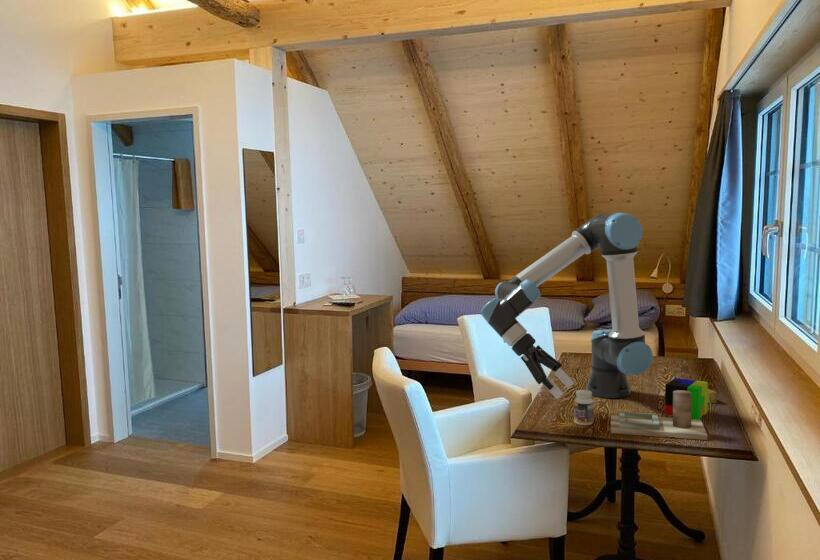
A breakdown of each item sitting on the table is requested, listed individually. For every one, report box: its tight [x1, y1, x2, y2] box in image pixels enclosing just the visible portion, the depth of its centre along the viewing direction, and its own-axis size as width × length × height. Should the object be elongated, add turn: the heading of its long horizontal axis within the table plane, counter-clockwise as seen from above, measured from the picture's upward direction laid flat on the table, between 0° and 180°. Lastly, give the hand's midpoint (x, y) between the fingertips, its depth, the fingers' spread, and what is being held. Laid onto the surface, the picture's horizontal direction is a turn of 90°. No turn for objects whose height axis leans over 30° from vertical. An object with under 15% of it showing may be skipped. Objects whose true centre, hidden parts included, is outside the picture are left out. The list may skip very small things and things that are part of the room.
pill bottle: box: [573, 389, 594, 426], centre depth 198 cm, size 6×6×10 cm
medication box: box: [707, 388, 717, 404], centre depth 222 cm, size 12×3×4 cm, turn 12°
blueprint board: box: [610, 390, 708, 441], centre depth 191 cm, size 14×26×12 cm, turn 72°
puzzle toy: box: [664, 377, 709, 420], centre depth 205 cm, size 10×10×10 cm
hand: (566, 390), depth 200 cm, fingers open, 13 cm apart
